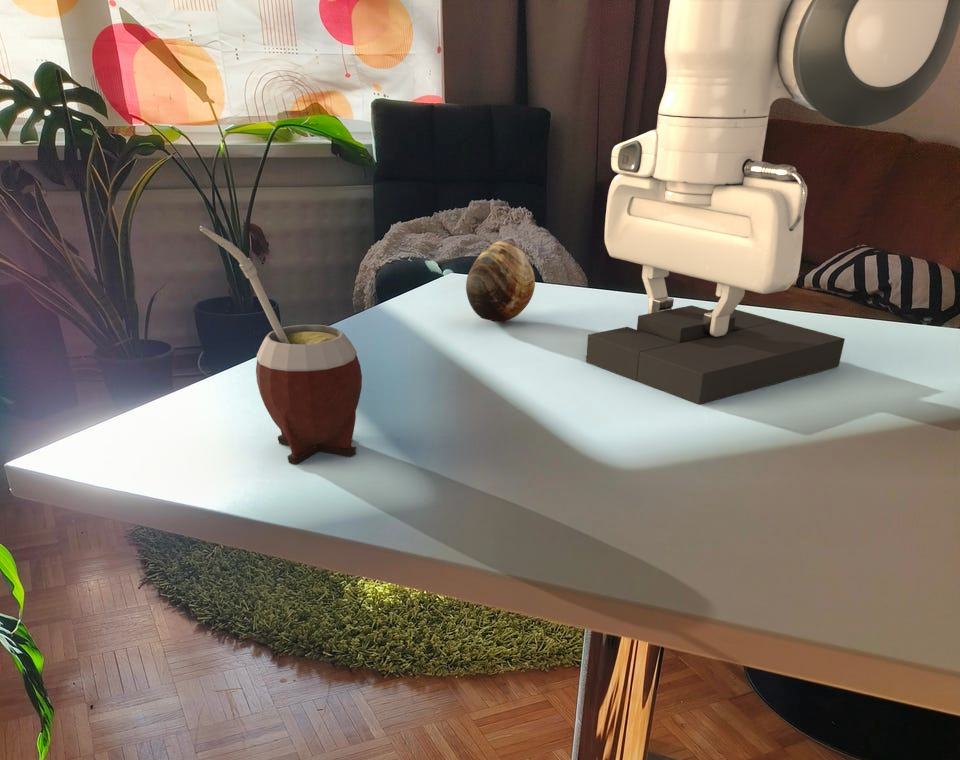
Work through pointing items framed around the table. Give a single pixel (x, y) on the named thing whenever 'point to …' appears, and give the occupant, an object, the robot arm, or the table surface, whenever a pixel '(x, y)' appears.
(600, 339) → the big pad
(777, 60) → the robot arm
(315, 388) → the mate gourd
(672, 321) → the small block
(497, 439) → the table surface
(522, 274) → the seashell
